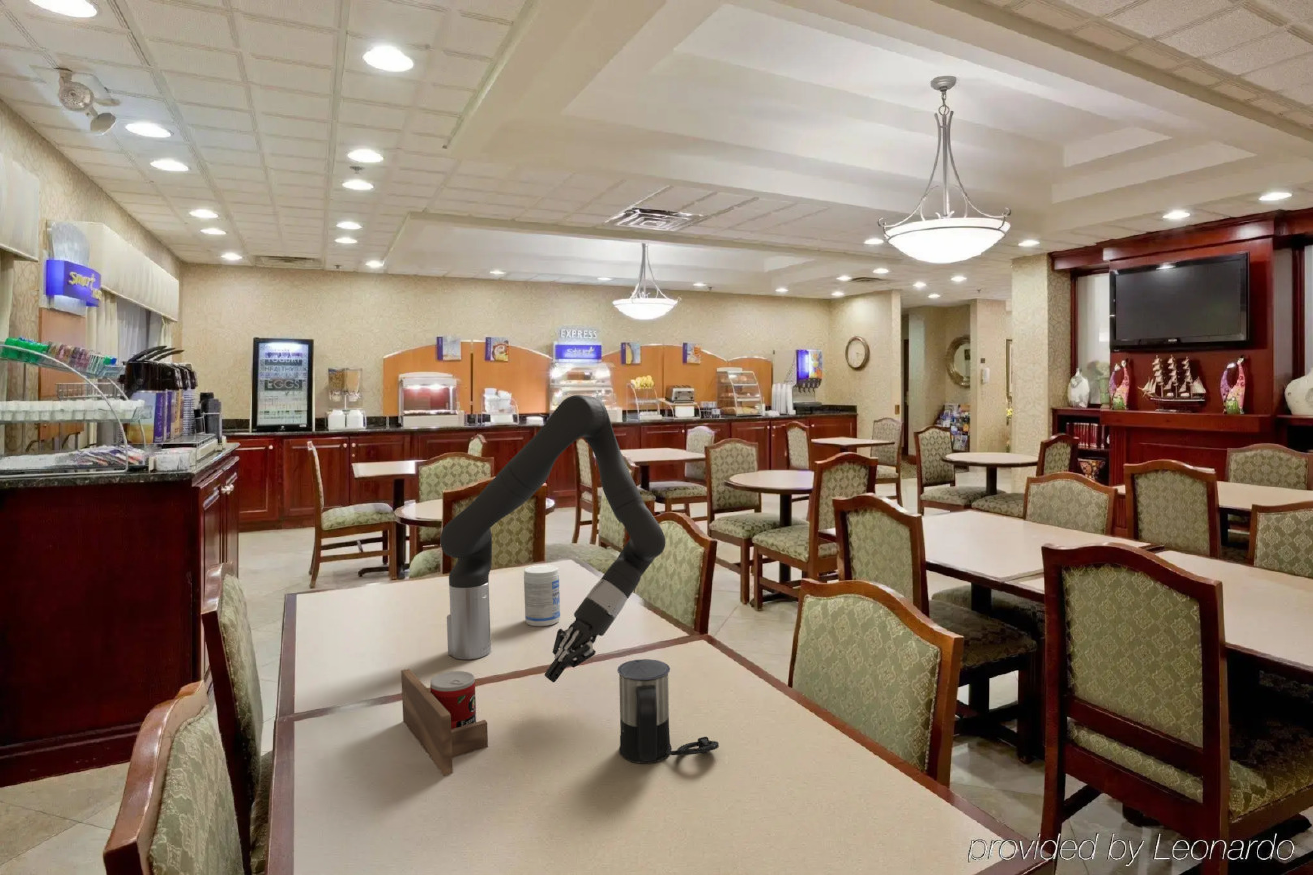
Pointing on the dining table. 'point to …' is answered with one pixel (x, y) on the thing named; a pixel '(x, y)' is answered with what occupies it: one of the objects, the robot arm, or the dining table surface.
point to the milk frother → (649, 714)
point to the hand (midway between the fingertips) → (549, 679)
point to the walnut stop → (437, 725)
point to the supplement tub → (542, 595)
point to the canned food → (456, 696)
